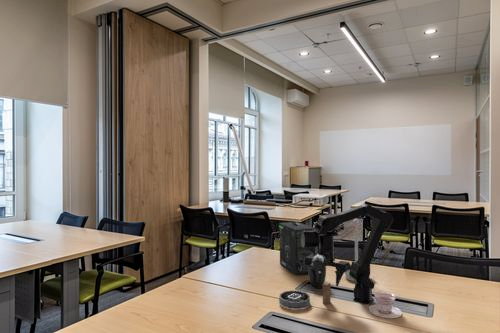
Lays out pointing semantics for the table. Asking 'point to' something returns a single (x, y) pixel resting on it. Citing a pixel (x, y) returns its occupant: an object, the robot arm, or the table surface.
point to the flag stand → (355, 247)
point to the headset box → (294, 247)
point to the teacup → (385, 306)
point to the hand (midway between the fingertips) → (326, 283)
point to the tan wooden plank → (326, 293)
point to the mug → (320, 278)
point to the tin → (294, 300)
